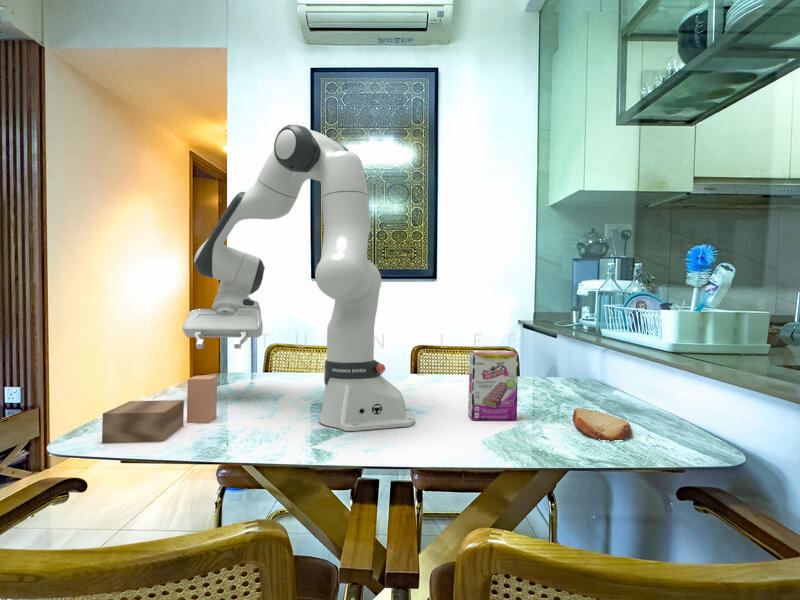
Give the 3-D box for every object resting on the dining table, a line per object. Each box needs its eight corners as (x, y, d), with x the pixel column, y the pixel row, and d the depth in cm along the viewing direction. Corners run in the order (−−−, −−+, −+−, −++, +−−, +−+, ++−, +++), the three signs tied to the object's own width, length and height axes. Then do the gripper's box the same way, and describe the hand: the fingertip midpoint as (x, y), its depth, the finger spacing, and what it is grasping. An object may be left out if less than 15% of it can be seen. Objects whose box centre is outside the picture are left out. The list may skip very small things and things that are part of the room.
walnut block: (183, 427, 95) (183, 400, 95) (162, 443, 84) (163, 412, 84) (129, 428, 93) (130, 401, 93) (101, 444, 82) (102, 413, 82)
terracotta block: (216, 417, 102) (217, 375, 102) (209, 423, 97) (210, 379, 97) (194, 417, 101) (195, 375, 102) (186, 423, 97) (187, 379, 97)
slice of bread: (582, 415, 110) (582, 400, 110) (656, 432, 95) (656, 415, 95) (537, 425, 100) (537, 409, 100) (612, 446, 85) (612, 427, 85)
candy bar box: (472, 421, 102) (472, 352, 102) (467, 415, 107) (468, 350, 107) (518, 421, 102) (519, 352, 102) (512, 416, 107) (512, 350, 107)
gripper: (187, 300, 118) (173, 339, 108) (264, 301, 121) (256, 339, 111) (192, 316, 122) (179, 354, 112) (266, 317, 125) (259, 354, 115)
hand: (218, 347), depth 112 cm, fingers open, 8 cm apart
